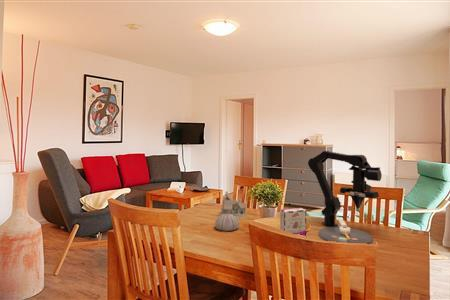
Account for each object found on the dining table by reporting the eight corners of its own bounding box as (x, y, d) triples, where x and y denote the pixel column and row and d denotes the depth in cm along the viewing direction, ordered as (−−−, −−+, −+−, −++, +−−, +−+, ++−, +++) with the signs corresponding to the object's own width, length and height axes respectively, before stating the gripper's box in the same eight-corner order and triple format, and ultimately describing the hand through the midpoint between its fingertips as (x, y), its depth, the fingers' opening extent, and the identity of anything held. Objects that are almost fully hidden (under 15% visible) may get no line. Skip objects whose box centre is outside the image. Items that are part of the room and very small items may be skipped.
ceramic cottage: (216, 218, 188) (218, 193, 187) (223, 212, 204) (225, 189, 203) (242, 221, 184) (243, 196, 183) (247, 215, 200) (249, 192, 199)
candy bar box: (300, 241, 148) (301, 207, 147) (306, 245, 143) (307, 210, 142) (279, 243, 145) (279, 209, 144) (284, 247, 140) (284, 211, 139)
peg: (354, 241, 144) (354, 233, 143) (343, 240, 144) (343, 232, 144) (345, 226, 166) (345, 219, 165) (335, 226, 167) (335, 219, 166)
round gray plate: (311, 229, 166) (311, 226, 166) (355, 228, 168) (355, 225, 168) (331, 246, 141) (331, 243, 141) (383, 245, 143) (383, 241, 143)
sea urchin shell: (235, 233, 160) (235, 218, 159) (210, 230, 164) (210, 215, 164) (242, 226, 172) (242, 211, 172) (219, 223, 177) (219, 210, 176)
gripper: (384, 179, 159) (383, 210, 160) (351, 175, 174) (350, 203, 175) (372, 181, 152) (372, 213, 153) (339, 177, 168) (338, 206, 168)
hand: (358, 208), depth 163 cm, fingers closed
